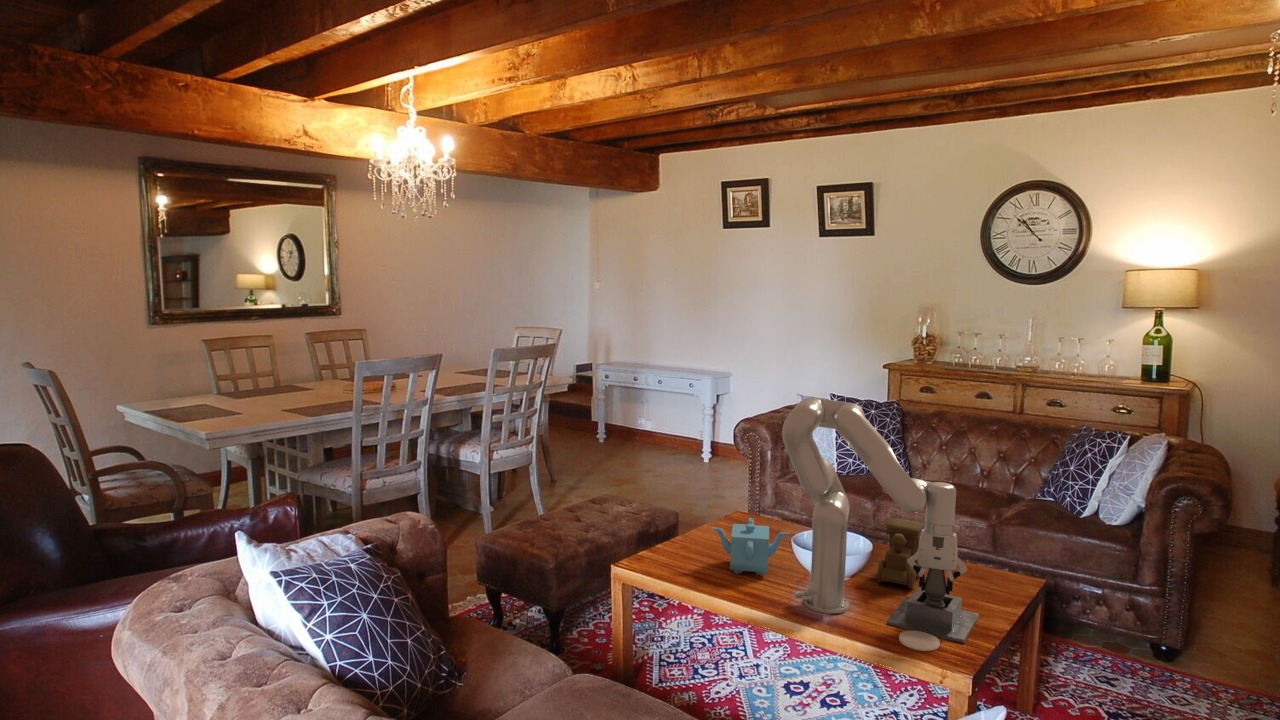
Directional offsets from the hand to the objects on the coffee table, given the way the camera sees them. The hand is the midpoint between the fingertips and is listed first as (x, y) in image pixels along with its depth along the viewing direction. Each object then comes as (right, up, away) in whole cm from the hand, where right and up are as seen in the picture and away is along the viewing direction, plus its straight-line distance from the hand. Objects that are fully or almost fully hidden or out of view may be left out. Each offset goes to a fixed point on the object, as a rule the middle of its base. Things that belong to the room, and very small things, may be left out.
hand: (935, 590), depth 218 cm
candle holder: (0, -9, +1) cm, 9 cm away
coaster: (-9, -10, -12) cm, 18 cm away
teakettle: (-46, -4, +38) cm, 60 cm away
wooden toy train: (0, -6, +31) cm, 32 cm away
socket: (0, -9, +1) cm, 9 cm away
